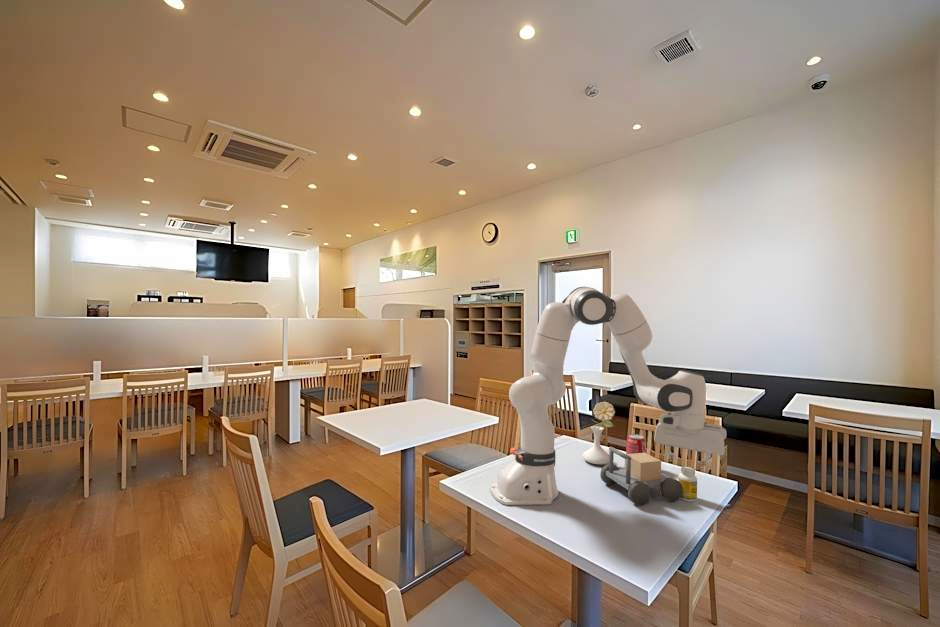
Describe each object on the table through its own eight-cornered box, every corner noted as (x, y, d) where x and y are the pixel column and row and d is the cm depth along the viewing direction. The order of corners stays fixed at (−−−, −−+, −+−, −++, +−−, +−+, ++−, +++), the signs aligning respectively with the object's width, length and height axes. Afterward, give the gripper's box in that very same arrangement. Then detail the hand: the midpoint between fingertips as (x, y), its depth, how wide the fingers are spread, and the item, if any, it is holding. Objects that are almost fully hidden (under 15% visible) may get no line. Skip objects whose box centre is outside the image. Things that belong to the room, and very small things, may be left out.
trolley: (631, 507, 122) (632, 460, 122) (600, 484, 139) (600, 443, 139) (682, 500, 127) (683, 456, 127) (646, 479, 144) (646, 440, 144)
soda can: (641, 463, 159) (642, 434, 159) (648, 470, 152) (648, 439, 152) (623, 462, 160) (624, 433, 160) (629, 469, 153) (629, 438, 153)
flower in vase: (576, 461, 161) (577, 399, 161) (591, 454, 168) (592, 396, 168) (606, 471, 151) (607, 405, 151) (620, 463, 159) (622, 401, 159)
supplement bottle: (682, 493, 133) (682, 464, 133) (699, 498, 129) (700, 469, 129) (675, 497, 130) (676, 468, 130) (693, 503, 126) (693, 473, 126)
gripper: (726, 424, 127) (724, 466, 127) (656, 413, 138) (655, 452, 138) (727, 428, 122) (725, 473, 122) (654, 416, 133) (652, 458, 133)
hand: (687, 462), depth 130 cm, fingers open, 8 cm apart
